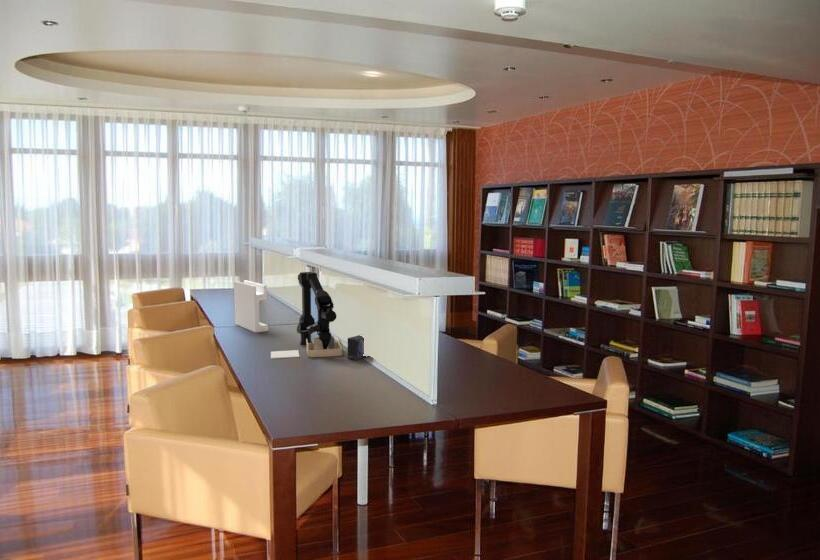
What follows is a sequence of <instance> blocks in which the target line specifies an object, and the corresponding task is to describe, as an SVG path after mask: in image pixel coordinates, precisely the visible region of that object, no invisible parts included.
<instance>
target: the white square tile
mask: <svg viewBox="0 0 820 560" xmlns="http://www.w3.org/2000/svg"><path fill="white" fill-rule="evenodd" d="M292 358H300V352H299V349H297V350H296V349H294V350H293V349H292V350H277V351H270V359H271V360H274V359H276V360H277V359H292Z"/></svg>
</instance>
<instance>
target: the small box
mask: <svg viewBox="0 0 820 560" xmlns="http://www.w3.org/2000/svg"><path fill="white" fill-rule="evenodd" d="M360 335H361V334H359V335H355V336H351V337H347V359H349V360H353V361H358V360H362V359H365V358H367V357H366V356H363V354H364V338H363V337H362V336H360Z"/></svg>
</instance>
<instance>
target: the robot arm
mask: <svg viewBox="0 0 820 560" xmlns="http://www.w3.org/2000/svg"><path fill="white" fill-rule="evenodd" d="M297 281H298V284H299V286H300V287H301V303H302V304H301V308H302V309H301V310H302V311H301V312H302V313H301V315H300V317H299V321H298V324H297V326H296V333H297V334H300V341H299V345H306V339H307V341H308V343H313V342H312V334H313V333H316V334H317V335H318V337H319V339H320V340H321V341H322V344H323V349H327V347H328V344H329V342H330V339H331V338H332V337H331V336H332V333H331V330H330V323H333V322H334V321H335V320H336V319H337V313H336V312H335V311H334V310H333V309H334V308H335V307H334V302H333V300H332V297H331V296H330V294H329V292H328V291H326V290H324V288H323V286H322V284H321V282H320V281H319V278H318V273H317V272H314V271H313V272H312V271H302V272H299V274H297ZM312 291H313V293H314V303H315V306H316V310H317V321H316V322H315V318H314V317H313V315H312Z"/></svg>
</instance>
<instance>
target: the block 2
mask: <svg viewBox="0 0 820 560" xmlns="http://www.w3.org/2000/svg"><path fill="white" fill-rule="evenodd" d="M331 337H332V338H331V339H330V342H329V344H328V347H327V349H334V342H335V337H334V336H333V335H331ZM313 343H314V350H323V344H322V341H321V340H320V339H319V336H313Z"/></svg>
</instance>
